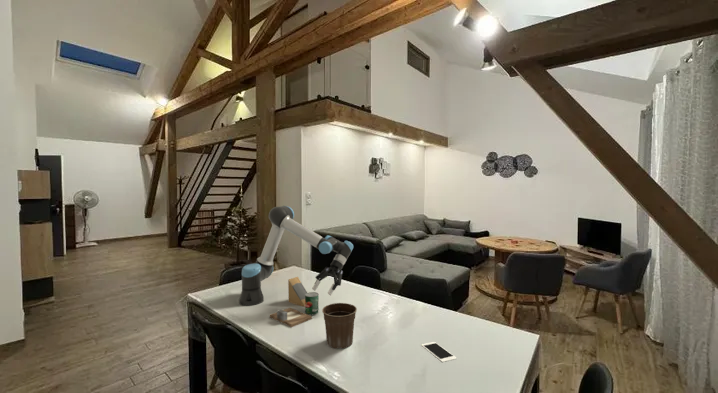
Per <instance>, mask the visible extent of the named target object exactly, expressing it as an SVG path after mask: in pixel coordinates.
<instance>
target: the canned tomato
mask: <svg viewBox="0 0 718 393" xmlns="http://www.w3.org/2000/svg"><path fill="white" fill-rule="evenodd" d="M304 313H305V314H307V315H310V316H316V315H318V314H319V293H318V292H316V291H311V292H310V291H309V292H307V293H306V294H305V307H304Z"/></svg>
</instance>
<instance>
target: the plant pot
mask: <svg viewBox="0 0 718 393" xmlns="http://www.w3.org/2000/svg"><path fill="white" fill-rule="evenodd" d="M357 310H358V309H357V306H355V305H353V304H351V303H346V302H334V303H329V304H328V305H326V306H324V307H323V308H322V309H321V311H322V312H321V313H322V314H323V320H324V326H325V337H326V345H328V347H329V348H332V349H336V350H337V349H341V350H342V349H345V348H346V349H348V348H349V347H350V346H351V345H353V341H354V328H355V320H356V315H357V314H356V313H357Z"/></svg>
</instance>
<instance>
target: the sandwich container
mask: <svg viewBox="0 0 718 393" xmlns="http://www.w3.org/2000/svg"><path fill="white" fill-rule="evenodd" d="M287 280H288V283H287V284H288V302H289V303H290V304H293V305H296V306H301V307H304V308H305V294H306V293H308V291H307V290H306V288H305V286H304V285H303V283H302V281H301V279H300V278H299V276H295V277H292V278H289V279H287Z"/></svg>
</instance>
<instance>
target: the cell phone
mask: <svg viewBox="0 0 718 393" xmlns="http://www.w3.org/2000/svg"><path fill="white" fill-rule="evenodd" d="M420 346H421V347H423V348H424V349H425V350H426V351H427V352H429V353H430V354H431V355H433V356H434V357H435V358H436V359H437V360H438V361H440V362H441V363H445V362H449V361H453V360H457V359H458V357H456V355H454V354H452V353H451V352H450V351H448V350H447V349H446V348H444V347H443V346H441V345H440V344H439V343H437V342H436V341H432V342H426V343H422V344H421V345H420Z"/></svg>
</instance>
